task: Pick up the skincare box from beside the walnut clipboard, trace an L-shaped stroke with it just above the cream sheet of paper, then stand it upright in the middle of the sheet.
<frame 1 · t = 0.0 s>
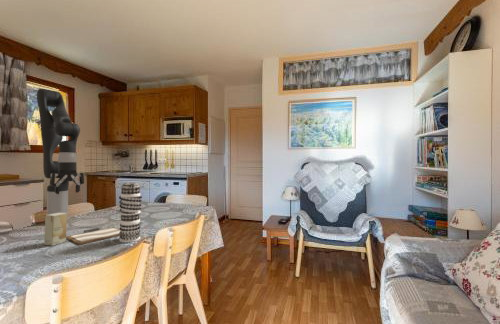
hand: (67, 193, 130), 17 cm above the table, tool pointing down, fingers open, 8 cm apart
skincare box: (55, 243, 105), on the table
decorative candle: (130, 239, 113), on the table
clipboard: (97, 236, 116), on the table
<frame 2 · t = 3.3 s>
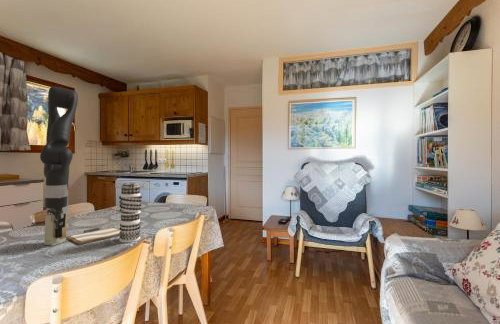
hand: (55, 236, 105), 3 cm above the table, tool pointing down, fingers closed on skincare box, 5 cm apart
skincare box: (55, 243, 105), on the table, touching gripper
everything else where it was.
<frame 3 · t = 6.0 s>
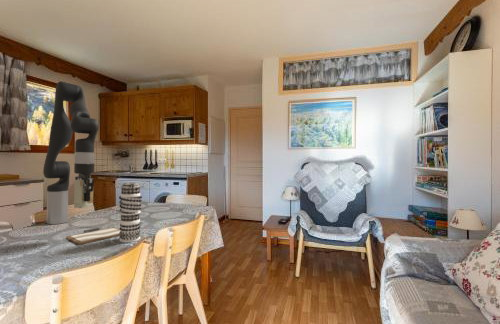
hand: (84, 200, 113), 17 cm above the table, tool pointing down, fingers closed on skincare box, 5 cm apart
skincare box: (83, 207, 113), point 14 cm above the table, touching gripper
everything else where it was.
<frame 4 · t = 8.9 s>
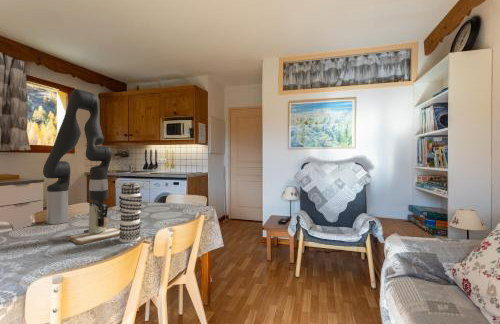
hand: (98, 225, 118), 5 cm above the table, tool pointing down, fingers closed on skincare box, 5 cm apart
skincare box: (97, 231, 118), point 1 cm above the table, touching gripper
everything else where it was.
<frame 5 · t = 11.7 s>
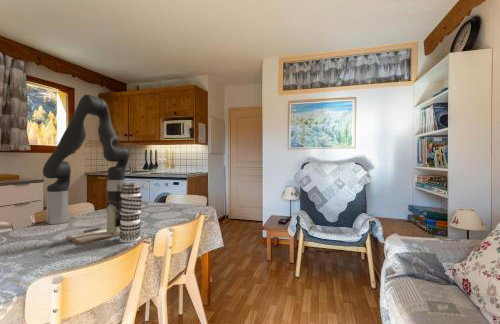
hand: (115, 225, 118), 5 cm above the table, tool pointing down, fingers closed on skincare box, 5 cm apart
skincare box: (115, 231, 118), point 1 cm above the table, touching gripper
everything else where it was.
when the fingers open (5 cm above the table, at t = 14.4 s): skincare box drops 1 cm, resting on clipboard.
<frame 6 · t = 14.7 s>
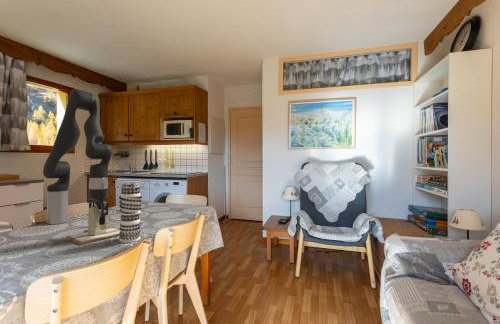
hand: (97, 223, 116), 6 cm above the table, tool pointing down, fingers open, 8 cm apart
skincare box: (97, 234, 116), point 1 cm above the table, touching clipboard
everything else where it was.
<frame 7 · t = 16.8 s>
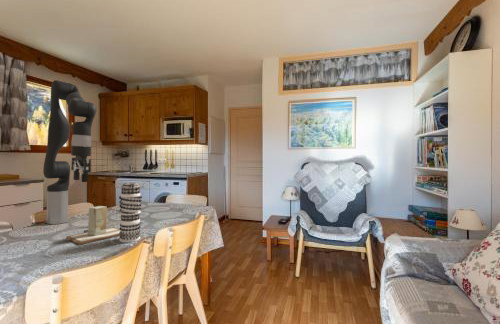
hand: (80, 181, 115), 25 cm above the table, tool pointing down, fingers open, 8 cm apart
nothing on the table moved.
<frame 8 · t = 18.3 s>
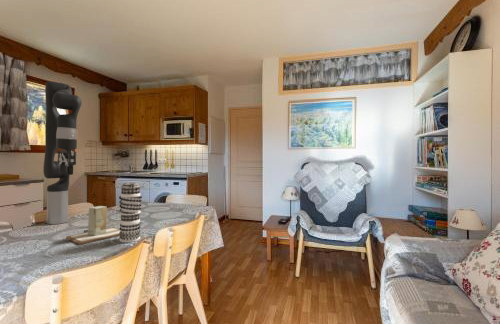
hand: (66, 174, 115), 28 cm above the table, tool pointing down, fingers open, 8 cm apart
nothing on the table moved.
at the end: skincare box inside the target area on the clipboard (0.2 cm from its centre), point 0.9 cm above the clipboard's base; skincare box tilted 0°; the gripper is holding nothing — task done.
